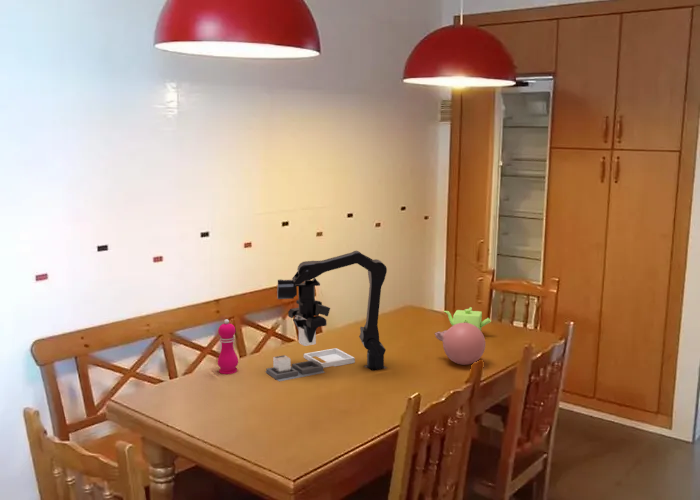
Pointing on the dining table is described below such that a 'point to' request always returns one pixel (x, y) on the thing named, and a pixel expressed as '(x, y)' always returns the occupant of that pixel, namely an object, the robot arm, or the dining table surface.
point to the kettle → (468, 317)
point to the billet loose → (305, 337)
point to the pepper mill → (227, 349)
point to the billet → (281, 364)
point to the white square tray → (330, 357)
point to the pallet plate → (297, 371)
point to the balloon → (462, 343)
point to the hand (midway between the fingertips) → (307, 340)
